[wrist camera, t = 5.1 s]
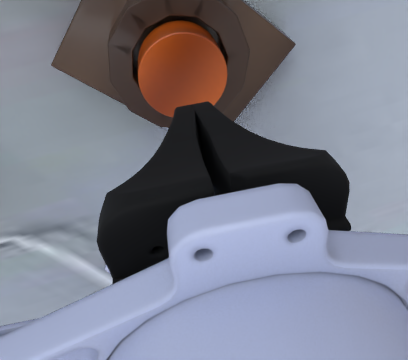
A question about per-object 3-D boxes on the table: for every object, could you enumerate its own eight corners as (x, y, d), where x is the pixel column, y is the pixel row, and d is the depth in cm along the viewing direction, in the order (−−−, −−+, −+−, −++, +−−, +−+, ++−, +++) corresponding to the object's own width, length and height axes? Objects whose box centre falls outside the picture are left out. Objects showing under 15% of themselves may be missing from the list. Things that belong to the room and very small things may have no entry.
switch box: (284, 33, 23) (308, 54, 20) (206, 134, 26) (215, 166, 23) (126, -95, 18) (124, -93, 15) (57, 52, 21) (43, 78, 18)
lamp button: (236, 51, 19) (245, 65, 18) (190, 114, 21) (194, 132, 20) (166, 1, 17) (169, 12, 16) (122, 76, 19) (121, 92, 18)
